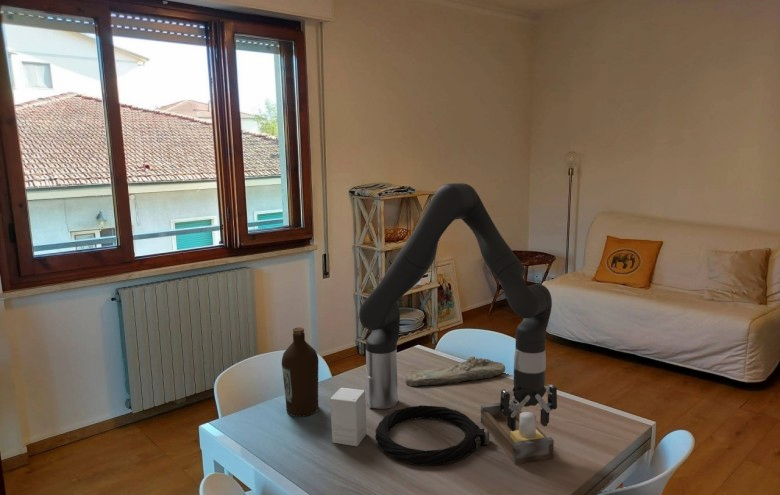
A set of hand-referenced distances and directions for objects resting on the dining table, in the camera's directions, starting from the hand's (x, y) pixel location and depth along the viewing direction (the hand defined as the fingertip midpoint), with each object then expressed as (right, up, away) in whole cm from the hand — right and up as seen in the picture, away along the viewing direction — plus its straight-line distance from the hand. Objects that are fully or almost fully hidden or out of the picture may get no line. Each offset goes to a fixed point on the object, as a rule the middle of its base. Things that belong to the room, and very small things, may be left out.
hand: (527, 427), depth 140 cm
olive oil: (-60, -4, +27) cm, 66 cm away
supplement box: (-45, -6, +10) cm, 47 cm away
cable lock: (-23, -7, +9) cm, 26 cm away
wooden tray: (-2, -6, +8) cm, 10 cm away
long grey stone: (-12, +1, +48) cm, 49 cm away
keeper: (0, -5, +1) cm, 6 cm away
